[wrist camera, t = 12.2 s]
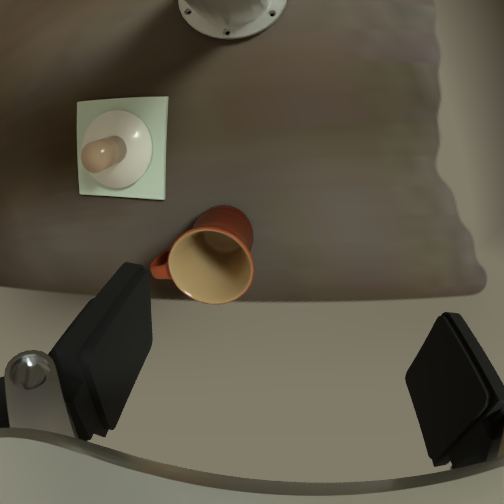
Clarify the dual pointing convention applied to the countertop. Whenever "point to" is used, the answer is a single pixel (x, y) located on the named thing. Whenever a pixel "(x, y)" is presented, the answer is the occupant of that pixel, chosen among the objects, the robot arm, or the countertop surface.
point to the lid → (117, 148)
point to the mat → (156, 121)
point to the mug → (210, 257)
